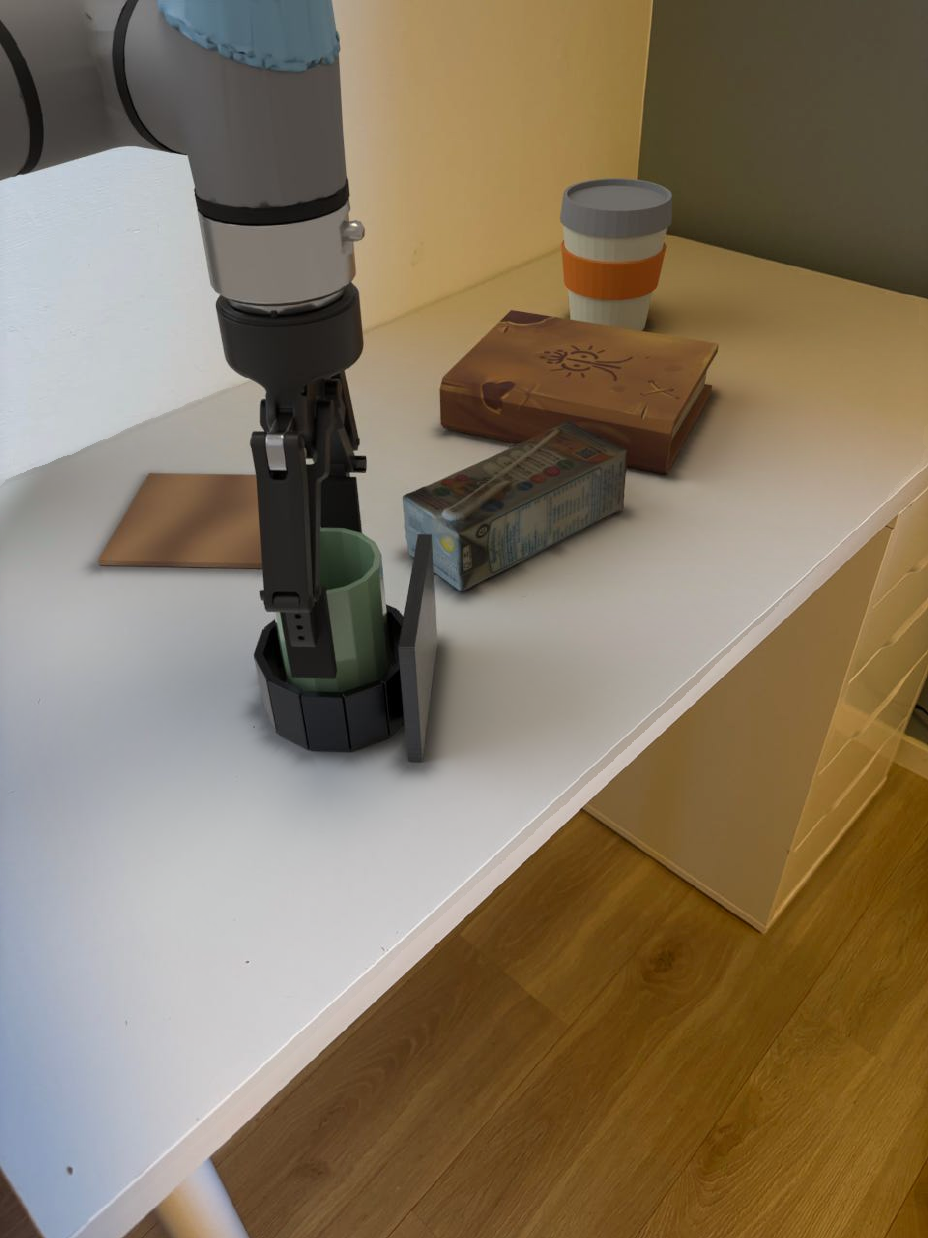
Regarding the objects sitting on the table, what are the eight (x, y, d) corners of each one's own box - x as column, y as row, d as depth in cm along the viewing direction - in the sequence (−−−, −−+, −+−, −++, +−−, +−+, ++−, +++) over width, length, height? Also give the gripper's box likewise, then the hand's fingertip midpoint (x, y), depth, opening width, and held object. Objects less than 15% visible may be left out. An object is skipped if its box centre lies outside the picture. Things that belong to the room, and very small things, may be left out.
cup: (281, 731, 68) (254, 593, 60) (301, 661, 74) (279, 526, 66) (386, 734, 68) (372, 595, 60) (398, 664, 73) (386, 528, 65)
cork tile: (99, 565, 84) (97, 559, 83) (150, 478, 94) (148, 472, 94) (263, 568, 83) (262, 562, 82) (295, 480, 93) (294, 474, 93)
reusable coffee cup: (650, 350, 114) (664, 215, 104) (544, 338, 117) (548, 206, 108) (667, 308, 123) (682, 181, 114) (568, 298, 126) (574, 174, 117)
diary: (440, 433, 100) (438, 380, 96) (510, 359, 113) (510, 309, 109) (664, 478, 92) (671, 422, 89) (711, 393, 105) (719, 341, 102)
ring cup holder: (249, 756, 66) (223, 643, 60) (285, 640, 75) (266, 530, 69) (422, 762, 66) (414, 647, 59) (437, 643, 75) (432, 533, 68)
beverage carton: (401, 553, 84) (396, 485, 80) (566, 475, 93) (569, 412, 89) (460, 597, 79) (458, 528, 75) (628, 511, 88) (635, 445, 84)
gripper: (317, 391, 42) (361, 745, 56) (385, 214, 61) (406, 514, 75) (145, 390, 43) (231, 741, 57) (264, 214, 61) (307, 512, 75)
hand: (330, 612), depth 66 cm, fingers open, 11 cm apart
